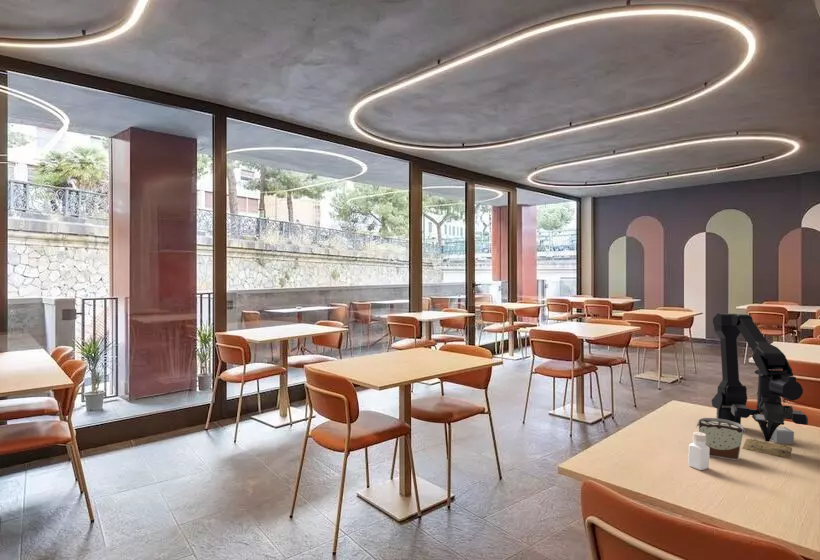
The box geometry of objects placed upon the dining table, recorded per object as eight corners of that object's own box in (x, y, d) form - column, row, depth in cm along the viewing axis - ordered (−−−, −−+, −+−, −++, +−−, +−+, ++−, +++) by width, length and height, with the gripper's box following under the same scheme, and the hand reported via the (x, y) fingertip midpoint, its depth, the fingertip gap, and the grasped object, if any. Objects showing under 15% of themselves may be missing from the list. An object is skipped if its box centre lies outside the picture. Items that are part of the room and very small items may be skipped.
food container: (740, 454, 150) (741, 421, 150) (744, 461, 145) (745, 427, 144) (693, 447, 155) (694, 415, 155) (695, 453, 150) (696, 420, 149)
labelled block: (776, 443, 160) (776, 430, 160) (767, 437, 165) (768, 425, 165) (793, 444, 159) (794, 431, 159) (784, 438, 164) (784, 426, 164)
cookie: (745, 439, 164) (745, 436, 164) (792, 448, 156) (792, 445, 156) (740, 450, 155) (741, 446, 155) (790, 460, 147) (790, 457, 147)
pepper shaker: (700, 471, 137) (702, 436, 137) (687, 465, 141) (688, 432, 140) (709, 468, 139) (711, 434, 138) (695, 463, 142) (697, 430, 142)
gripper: (739, 394, 151) (737, 445, 151) (815, 401, 144) (813, 455, 144) (731, 386, 161) (729, 433, 162) (802, 392, 154) (800, 442, 155)
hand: (766, 441), depth 155 cm, fingers closed
